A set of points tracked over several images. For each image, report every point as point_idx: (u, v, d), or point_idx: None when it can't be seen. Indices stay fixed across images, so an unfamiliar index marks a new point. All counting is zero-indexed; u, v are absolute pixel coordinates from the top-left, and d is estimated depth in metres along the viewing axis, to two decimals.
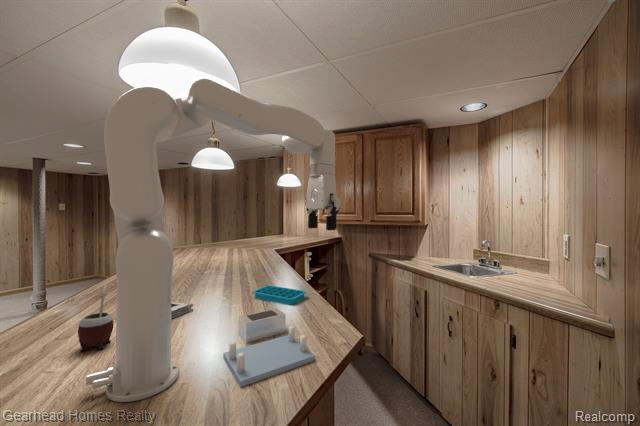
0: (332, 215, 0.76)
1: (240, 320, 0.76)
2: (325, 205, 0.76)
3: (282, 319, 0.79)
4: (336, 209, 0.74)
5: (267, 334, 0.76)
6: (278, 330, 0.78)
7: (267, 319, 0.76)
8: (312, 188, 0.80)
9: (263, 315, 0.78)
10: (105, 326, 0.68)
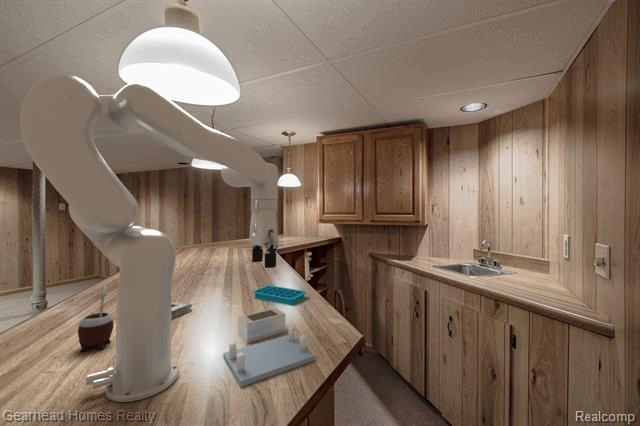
0: (270, 253, 0.73)
1: (240, 320, 0.76)
2: (263, 242, 0.73)
3: (282, 319, 0.79)
4: (273, 247, 0.72)
5: (268, 334, 0.76)
6: (278, 329, 0.79)
7: (268, 318, 0.76)
8: (253, 223, 0.78)
9: (263, 315, 0.78)
10: (105, 326, 0.68)
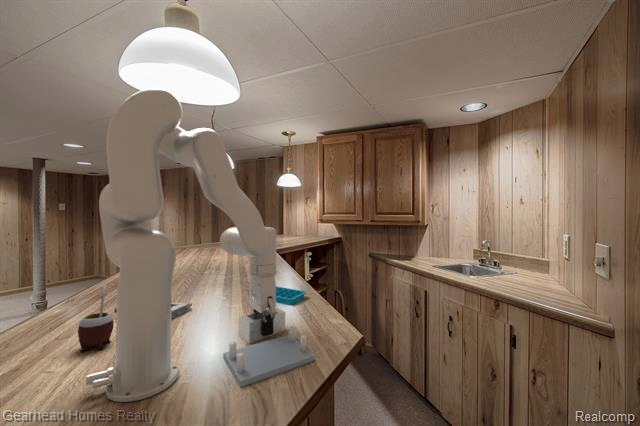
0: (267, 321, 0.74)
1: (241, 320, 0.75)
2: (262, 310, 0.73)
3: (282, 317, 0.80)
4: (271, 317, 0.73)
5: None
6: (278, 328, 0.79)
7: None
8: (252, 286, 0.78)
9: None
10: (105, 326, 0.68)
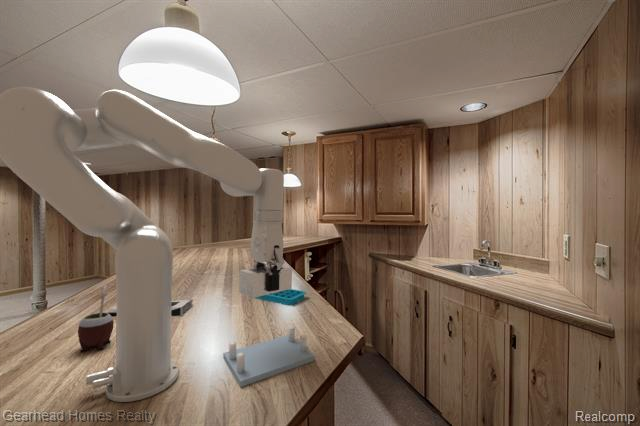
0: (273, 274, 0.65)
1: (242, 273, 0.66)
2: (268, 260, 0.64)
3: (289, 273, 0.71)
4: (277, 268, 0.64)
5: None
6: (284, 285, 0.70)
7: None
8: (255, 236, 0.68)
9: None
10: (105, 326, 0.68)
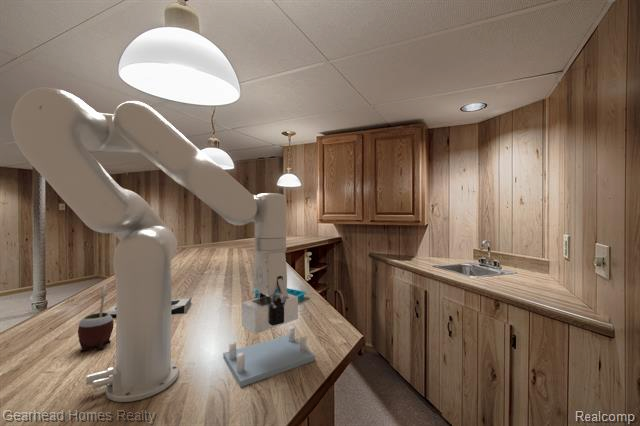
0: (277, 307, 0.60)
1: (245, 306, 0.62)
2: (271, 293, 0.59)
3: (294, 303, 0.66)
4: (281, 301, 0.59)
5: None
6: (290, 316, 0.65)
7: None
8: (258, 266, 0.64)
9: None
10: (105, 326, 0.68)
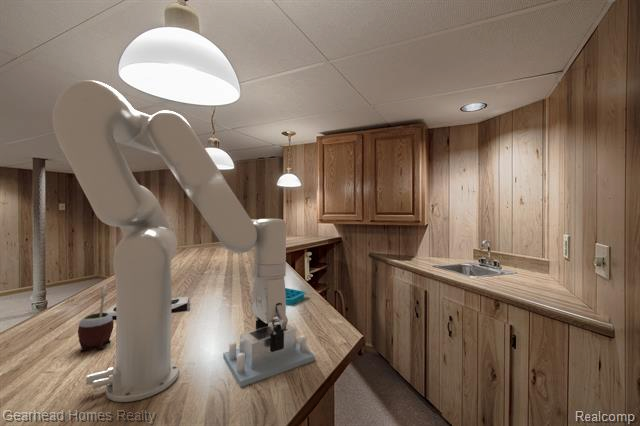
0: (277, 333, 0.60)
1: (242, 339, 0.62)
2: (269, 320, 0.59)
3: (292, 335, 0.66)
4: (281, 328, 0.59)
5: (276, 355, 0.63)
6: (288, 348, 0.65)
7: None
8: (257, 291, 0.64)
9: (270, 332, 0.64)
10: (105, 326, 0.68)
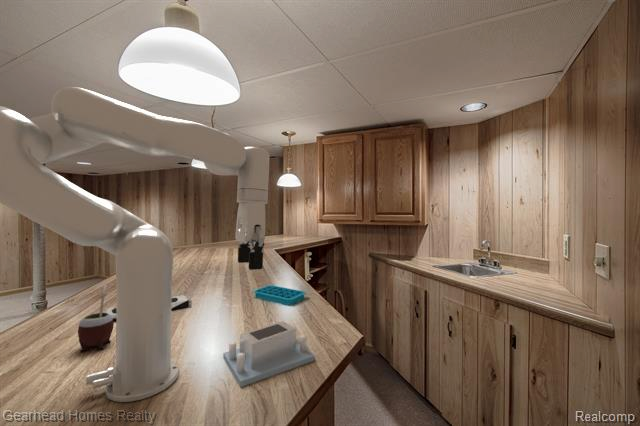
0: (256, 252, 0.62)
1: (242, 339, 0.62)
2: (248, 239, 0.62)
3: (292, 335, 0.66)
4: (259, 245, 0.61)
5: (276, 355, 0.63)
6: (288, 348, 0.65)
7: (276, 336, 0.63)
8: (239, 216, 0.67)
9: (270, 332, 0.64)
10: (105, 326, 0.68)
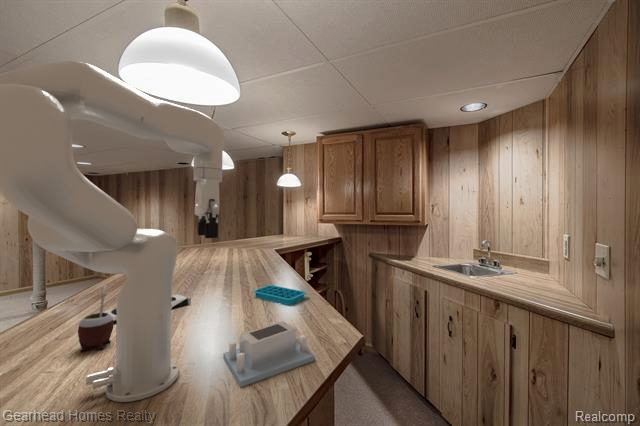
0: (210, 222, 0.71)
1: (242, 339, 0.62)
2: (203, 211, 0.71)
3: (292, 335, 0.66)
4: (213, 216, 0.70)
5: (276, 355, 0.63)
6: (288, 348, 0.65)
7: (276, 336, 0.63)
8: (196, 193, 0.75)
9: (270, 332, 0.64)
10: (105, 326, 0.68)
